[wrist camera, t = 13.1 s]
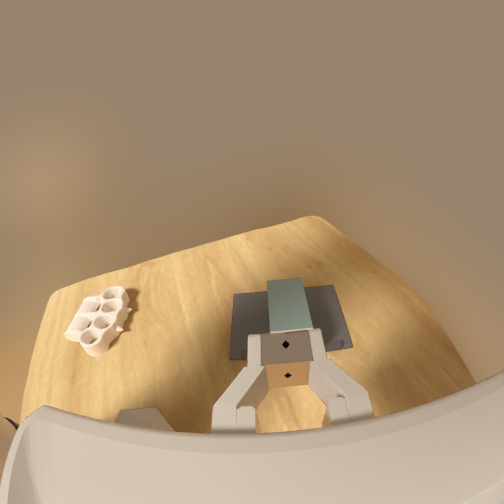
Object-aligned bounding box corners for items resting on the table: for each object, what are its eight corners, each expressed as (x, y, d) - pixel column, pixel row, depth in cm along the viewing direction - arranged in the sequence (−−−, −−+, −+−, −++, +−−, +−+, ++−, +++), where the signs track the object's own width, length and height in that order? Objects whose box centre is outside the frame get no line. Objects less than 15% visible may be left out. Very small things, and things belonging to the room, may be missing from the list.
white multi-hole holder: (93, 297, 61) (143, 295, 60) (63, 353, 45) (118, 359, 44) (88, 286, 59) (138, 284, 58) (55, 342, 44) (110, 348, 43)
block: (270, 337, 37) (267, 281, 49) (272, 365, 40) (269, 307, 52) (314, 333, 37) (301, 277, 49) (312, 361, 39) (301, 304, 52)
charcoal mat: (229, 359, 43) (228, 355, 42) (234, 294, 57) (233, 290, 56) (352, 347, 42) (353, 343, 41) (332, 285, 55) (333, 281, 55)
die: (195, 436, 32) (154, 385, 32) (182, 477, 24) (128, 421, 24) (153, 447, 33) (114, 401, 33) (135, 483, 24) (86, 433, 24)
